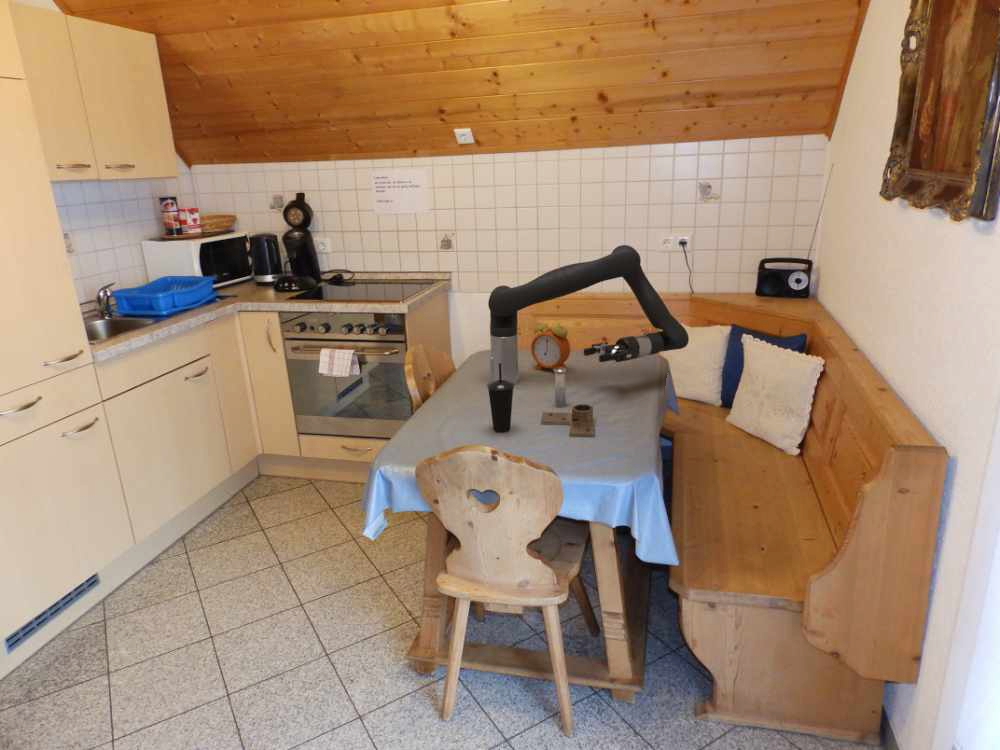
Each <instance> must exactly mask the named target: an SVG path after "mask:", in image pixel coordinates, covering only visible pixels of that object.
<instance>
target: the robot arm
mask: <svg viewBox="0 0 1000 750" xmlns="http://www.w3.org/2000/svg"><path fill="white" fill-rule="evenodd" d="M641 260H642V259H641V256H640V254H639V252H638V251H637V250H636V249H635V248H634V247H633V246H630V245H627V244H622V245H618V246H616V247H615V248H613V250H612V252H610V254H607V255H605V256H603V257H600V258H597V259H594V260H590V261H584V262H578V263H572V264H568V265H564V266H561V267H556V268H555V269H552V270H549V271H547V272H546V273H543V274H542V275H541V274H540V275H539V276H538V277H536V278H534V279H533V280H530V281H529V282H526V283H523V284H522V285H518V286H514V287H510V286H507V285H499V286H497V287H495V288H494V289H493V290H492V291H491V292H490V295H489V298H488V302H487V304H488V308H489V311H490V312H489V313H490V314H489V315H490V316H489V317H490V320H489V321H490V322H489V334H490V335H489V336H490V338H489V339H490V357H489V363H490V364H489V366H490V371H489V372H490V383H491V382H493V381H496V380H499V363H501V374H502V380H506V381H509V382H512V383H513V384H514V385H517V384H518V382H519V351H518V350H519V349H518V348H519V345H518V344H519V343H518V311H521V310H523V309H525V308H527V307H531V306H533V305H536V304H541V303H545V302H549V301H551V300H555V299H559V298H562V297H565V296H568V295H571V294H573V293H576V292H579V291H581V290H584V289H588V288H589V287H592V286H594V285H597V284H598V283H603V282H605V281H610V280H613V279H618V278H623V280H624V281H625V282H626V283H627V285H628V286H629V288H630V289H631V291H632V293H633V295H634V296H635V299H636V300H637V302H638V304H639V306H640V308H641V309H642V312H643V313H644V315H645V316H646V317H647V319H648V322H649V323H650V324H651V326H652V327H653V328H655V329H659V330H660V331H657V332H656V331H655V332H649V333H644V334H634V335H629V336H623V337H620V338H618V339H617V340H616V342H615V343H609V342H608V341H605V342H598V343H592V344H591V347H587V348H584V349H583V355H584V356H585V357H587V356H592V355H598V361H599V362H600V363H606V362H615V363H621V362H627V361H632V360H635V359H641V358H644V357H647V356H651V355H656V354H659V353H660V352H661V353H662V352H667V351H675V350H682V349H683V348H686V347H687V346H688V344H689V341H690V337H689V333H688V331H687V329H685V328H686V327H684V326H683V324H681V323H680V322H679V321H678V320H677V319H676V318H675V317H674V316H673V315H672V314H671V313H670V310H669V309H668V307H667V305H666V304H665V302H664V301H663V299H662V297H661V296H660V295H659V294H658V291H656V289H655V288H654V287H653V285H652V284H651V282H650V280H649V279H648V278H647V275H646V273H645V272H644V270H643V267H642V265H641Z"/></svg>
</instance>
